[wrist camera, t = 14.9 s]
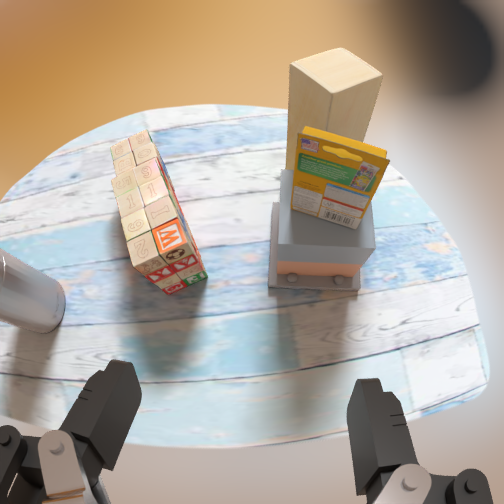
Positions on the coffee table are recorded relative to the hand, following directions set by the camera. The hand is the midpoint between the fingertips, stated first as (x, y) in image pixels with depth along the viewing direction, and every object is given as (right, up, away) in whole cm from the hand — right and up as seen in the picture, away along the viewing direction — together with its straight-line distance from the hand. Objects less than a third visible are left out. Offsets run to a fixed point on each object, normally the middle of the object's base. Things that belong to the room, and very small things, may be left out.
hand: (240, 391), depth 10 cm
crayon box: (+8, +9, +22) cm, 25 cm away
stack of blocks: (-12, +9, +36) cm, 39 cm away
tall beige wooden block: (+10, +16, +37) cm, 41 cm away
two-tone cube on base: (+9, +6, +32) cm, 34 cm away
